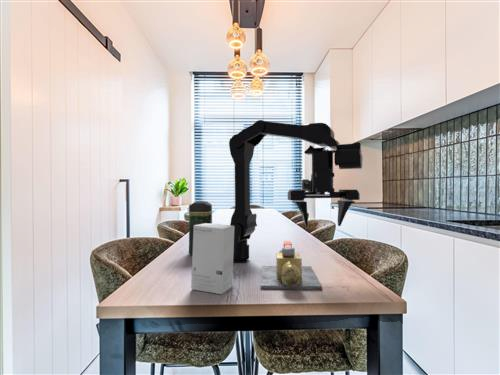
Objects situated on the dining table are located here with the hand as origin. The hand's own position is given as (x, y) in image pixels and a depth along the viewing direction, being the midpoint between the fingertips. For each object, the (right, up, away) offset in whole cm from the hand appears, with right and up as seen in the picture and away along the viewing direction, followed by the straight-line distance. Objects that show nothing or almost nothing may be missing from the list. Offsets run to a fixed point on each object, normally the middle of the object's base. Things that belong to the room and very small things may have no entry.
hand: (322, 226), depth 79 cm
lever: (-10, -7, -2) cm, 12 cm away
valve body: (-10, -13, -6) cm, 17 cm away
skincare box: (-29, -13, -13) cm, 34 cm away
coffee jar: (-38, -13, +22) cm, 45 cm away
